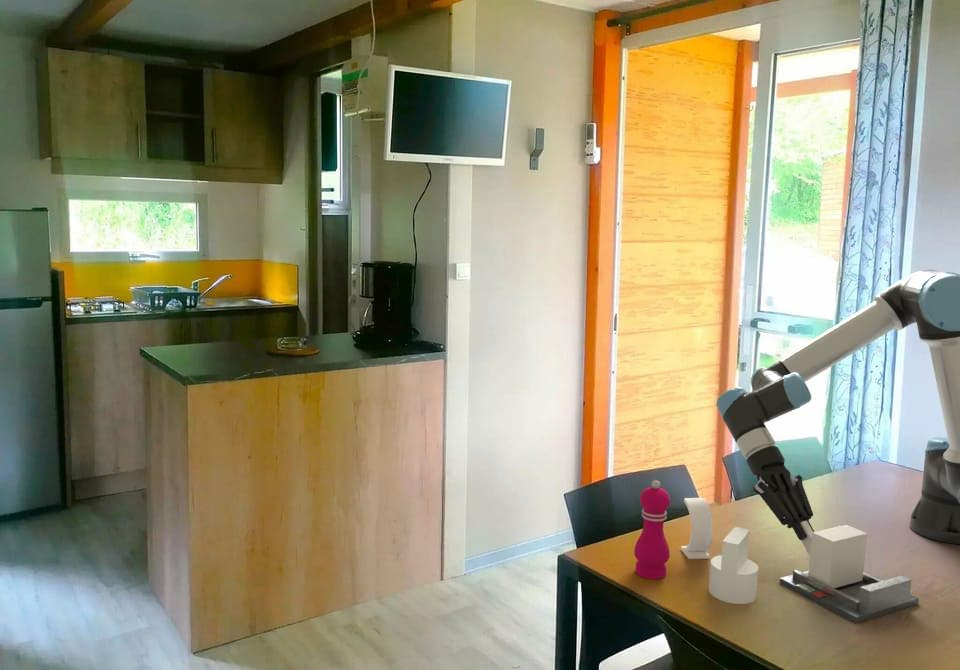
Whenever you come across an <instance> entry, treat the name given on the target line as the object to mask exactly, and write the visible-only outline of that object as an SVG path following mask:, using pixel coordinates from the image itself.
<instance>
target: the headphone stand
mask: <svg viewBox="0 0 960 670" xmlns="http://www.w3.org/2000/svg"><path fill="white" fill-rule="evenodd" d="M683 503H684V504H685V505H686V508H687V510H688V513H689V520H690V538H689V543H688V545H681V546H680V551H681V552H682V553H683V554H684V555H685V556H686V557H687V559H688V560H697V559H698V560H700V559H701V560H703V559H710V554H709V553H708V551H709V549H710V547H711V545H712V541H713V534H714V526H713V525H714V523H713V517H712V513H711V508H710V506H709V505H710V504H709V503H708V501H707V500H706V498H705V497H684V499H683Z"/></svg>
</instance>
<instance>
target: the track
mask: <svg viewBox="0 0 960 670" xmlns="http://www.w3.org/2000/svg"><path fill="white" fill-rule="evenodd" d="M808 573H809V570H805V571H800V570H798V569H795V570H792V574H790V575H787V576H783V577H779V585H780V586H781V585H782V587H785V588H787V589H789V590H791V591H793V592H795V593H797V594H798V595H801V596H803V597H805V598H806V599H807V600H810V601H812V602H814V603H815V604H818V605H820V606H821V607H823V608H825V609H828V610H829V611H831V612H833V613H835V614H837V615H838V616H840V617H843V618H844V619H847V620H848V621H850V622H852V623H854V624H856V625H858V624H861V623H863V622H866V621H870V620H873V619H876V618H879V617H882V616H886V615H889V614H891V613H895V612H898V611H901V610H905V609H907V608H911V607H914V606H918V605H919V603H920V602H919V601H920V599H919V598H918V597H916V596H915V595H912V594H911V588H912V578H909V577H906V576H905V575H898V576H895V577H892V578H887V579H885V580H882V579H880V578H878V577H876V576H873V575H872V574H869V573H867V572H865V571H864V572H863V580H862V581H859V582H855V583H851V584H848V585H844V586H841V587H837V588H832V587H830V586H828V585H826V584H824V583H822V582H820V581H818V580H816V579H814V578H812V577H810V576H808Z"/></svg>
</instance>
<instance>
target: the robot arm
mask: <svg viewBox="0 0 960 670" xmlns="http://www.w3.org/2000/svg"><path fill="white" fill-rule="evenodd" d="M915 323H916V328H917V331H918V336H919V340H920V341H922V342H924V343H926V344H927V345H928V347H929V352H930V356H931V357H930V358H931V361H932V367H933V372H934V376H935V377H934V378H935V382H936V387H937V391H938V392H937V393H938V396H939V402H940V406H941V412H942V417H943V422H944V426H945V432H946V436H947V437H933V438H932V437H931V438H930V439H928V441H927V443H926V448H925V450H924V453H925V455H924V464H923V475H922V481H921V483H922V485H921V492H920V498H919V500H918V501H917V504H916V505H915V506H914V509H913V511H912V513H911V515H910V519H909V528H910V529H911V530H912V531H913V532H914V533H916V534H918V535H919V536H923V537H924V538H928V539H931V540H934V541H938V542H942V543H946V544H947V543H948V544H954V545H955V544H956V545H960V273H956V272H948V271H947V272H945V271H938V270H933V269H924V270H920V271H916V272H913V273H911V274H908V275H906V276H905V277H903V278H901V279H900V280H898V281H896V282H895V283H893V284H892V285H891V286H889V287H888V288H885V289H884V290H883V291H880V293H878V294H876V295H875V296H874V299H873V302H872V303H870V304H869V305H867V306H865V307H864V308H862V309H861V310H859V311H857V312H855V313H853V315H851V316H849V317H848V318H846V319H845V320H843V321H841V322H840V323H838V324H836V325H834V326H833V327H831V328H829V329H828V330H827V331H825V332H823V333H822V334H820V335H819V336H816V337H815V338H813V339H812V340H810V341H809V342H807V343H805V344H804V345H802V346H801V347H799V348H798V349H796V350H794V351H792V352H791V353H790V354H788V355H786V356H784V357H783V358H781V359H780V360H778V361H776V362H774V363H773V364H772V365H768V366H766V365H765V366H760V367H758V368H757V369H755V371H754V372H753V373H752V375H751V377H750V386H751V388H752V391H750V392H748V391H747V390H746V388H743V387H735V388H731V389H728V390H726V391H725V392H723V393H722V394H721V395H719V396H718V398H717V400H716V407H717V409H718V411H719V413H720V416H721V418H722V420H723V421H724V424H725V426H726V428H727V430H728V431H729V433H730V434H731V436H732V438H733V440H734V442H735V444H736V445H737V447H738V449H739V451H740V452H741V455H742V457H743V458H744V459H746V464H747V466H748V468H749V469H750V472H751V474H753V476H754V477H755V476H756V479H757V480H756V481H757V484H755V485H754V486H753V487H752V490H753V491H754V492H755V493H757V495H758V496H760V497H761V499H762V500H763V501H764V503H765V504H766V505H767V506H768V509H770V511H771V512H772V513H773V515H775V517H776V519H777V520H778V521H779V522H780V524H781V525H782V526H786V528H787V529H791V528H792V529H793V531H794V533H795V535H796V537H797V539H798V540H799V541H800V542H801V543H802V545H803V546H804V548H805V550H806V552H807V555H809V557H810V551H811V540H812V532H815V530H814V528H813V526H812V525H811V523H810V519H812V517H813V516H814V513H813V509H812V506H811V504H810V501H809V499H808V495H807V493H806V490H805V488H804V486H803V477H802V475H800V474H798V475H793V474H791V472H790V470H789V469H788V468H787V467H786V466H785V460H786V459H785V457H784V456H783V454H782V452H781V450H780V448H779V447H778V446H776V441H775V439H774V437H773V436H772V434H771V433H770V431H769V429H768V427H767V426H766V424H765V423H767V422H770V421H772V420H774V419H777V418H779V417H781V416H783V415H786V414H788V413H789V412H790V413H791V412H792V411H795V410H797V409H800V408H801V407H802V406H804V405H806V404H808V403H809V402H811V400H812V394H811V392H810V389H809V387H808V386H807V383H806V382H808V381H809V380H811V379H812V378H814V377H816V376H818V375H819V374H821V373H824V371H826V370H828V369H829V368H831V367H832V366H834V365H836V364H838V363H839V362H841V361H843V360H845V359H846V358H848V357H849V356H851V355H853V354H854V353H856V352H858V351H859V350H861V349H863V348H864V347H866V346H867V345H870V344H871V343H873V342H875V341H876V340H878V339H879V338H881V337H883V336H884V335H886V334H888V333H890V332H891V331H892V330H898V331H901V330H903V329H905V328H906V327H908V326H910V325H913V324H915Z"/></svg>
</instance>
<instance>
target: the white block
mask: <svg viewBox="0 0 960 670" xmlns="http://www.w3.org/2000/svg"><path fill="white" fill-rule="evenodd" d="M867 538H868V533H867V532H865V531H862V530H860V529H858V528H855V527H852V526H850V525H848V524H842V525H838V526H834V527H830V528H826V529H821V530H817V531H814V532H812V540H811V551H810V556H809V563H808V564H809V565H808V571H809V573H808V576H810V577H812V578H814V579H816V580H818V581H820V582H822V583H824V584H826V585H828V586H830V587H832V588H837V587H841V586H844V585H848V584H851V583H855V582H859V581H862V580H863V572H865V560H866V549H867V542H868V541H867V540H868V539H867Z"/></svg>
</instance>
